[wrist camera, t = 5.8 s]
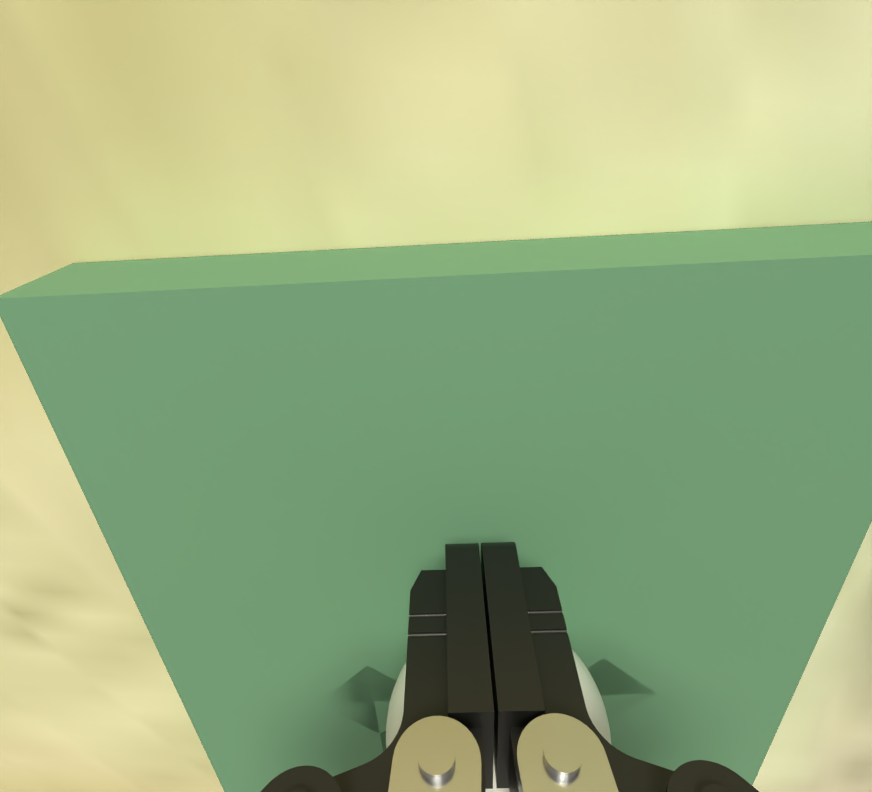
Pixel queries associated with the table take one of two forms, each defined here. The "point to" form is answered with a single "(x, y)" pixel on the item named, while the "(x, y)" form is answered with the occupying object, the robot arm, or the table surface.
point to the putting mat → (472, 466)
